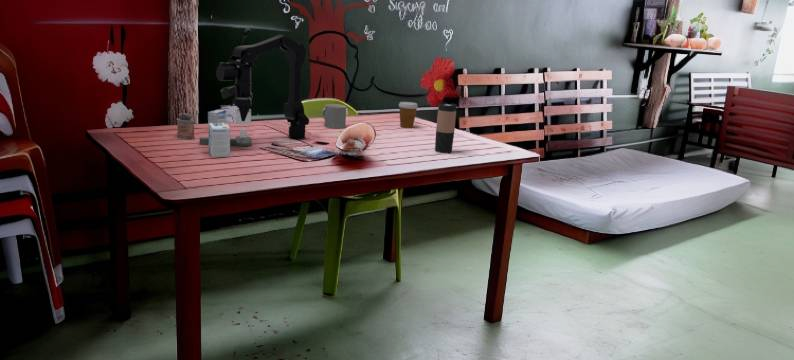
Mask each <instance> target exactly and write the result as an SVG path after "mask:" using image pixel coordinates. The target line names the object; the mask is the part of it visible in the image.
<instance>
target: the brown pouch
mask: <svg viewBox="0 0 794 360" xmlns="http://www.w3.org/2000/svg"><path fill="white" fill-rule="evenodd" d="M176 127H177V128H176V129H177V131H176V132H177V133H176V138H178V137H180V138H179V139H182V138H183V139H184V140H195V139H196V137H195V120H194V119H193V114H189V113H186V112H185V113H184V112H183V113H179V118H176ZM183 139H182V140H183Z"/></svg>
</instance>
